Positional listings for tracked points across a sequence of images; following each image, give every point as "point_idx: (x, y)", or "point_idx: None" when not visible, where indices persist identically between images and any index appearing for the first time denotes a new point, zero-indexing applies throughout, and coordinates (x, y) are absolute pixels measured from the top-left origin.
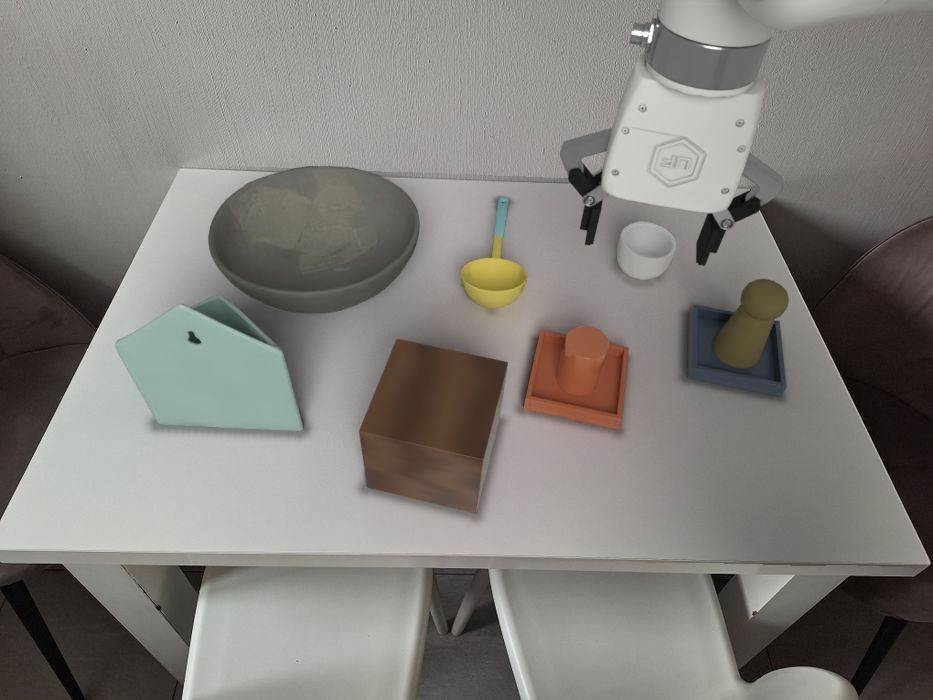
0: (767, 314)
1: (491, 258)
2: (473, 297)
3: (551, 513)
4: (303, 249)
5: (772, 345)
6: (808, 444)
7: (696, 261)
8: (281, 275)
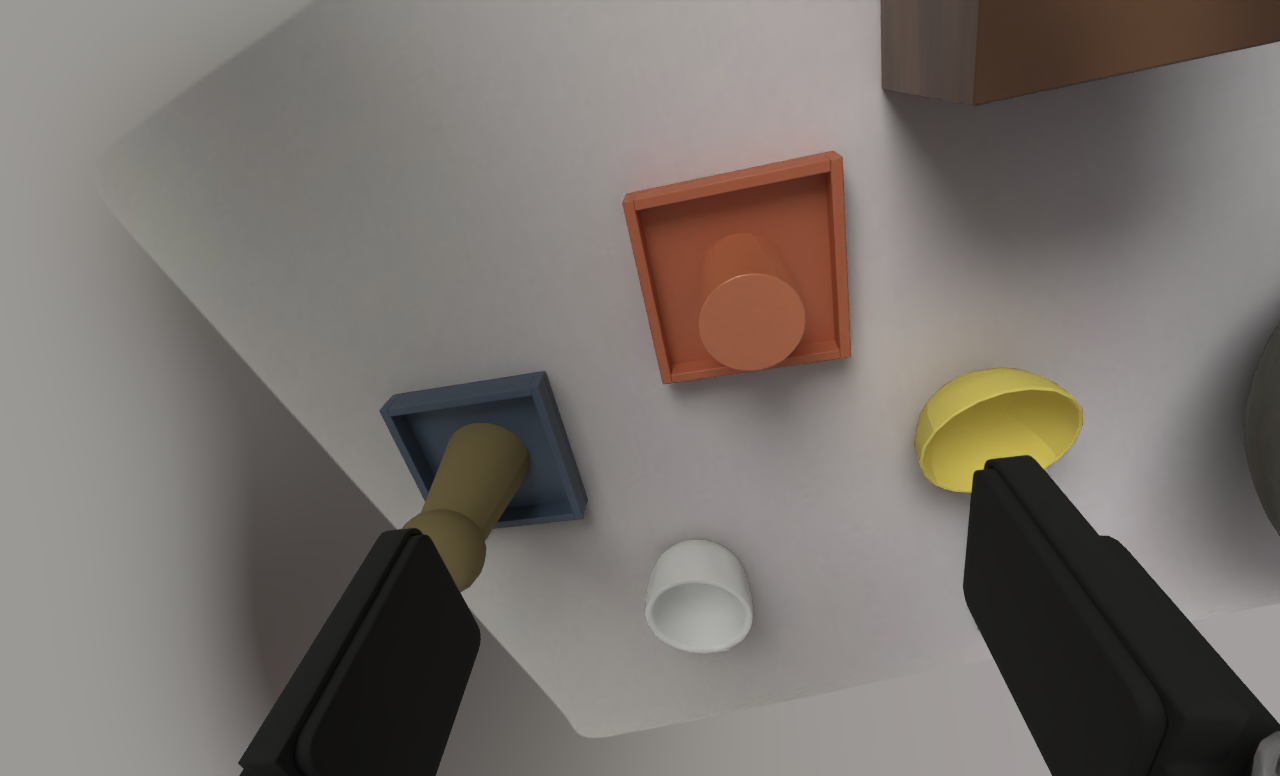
0: (419, 522)
1: None
2: (1031, 373)
3: None
4: None
5: None
6: (315, 320)
7: (428, 542)
8: None
